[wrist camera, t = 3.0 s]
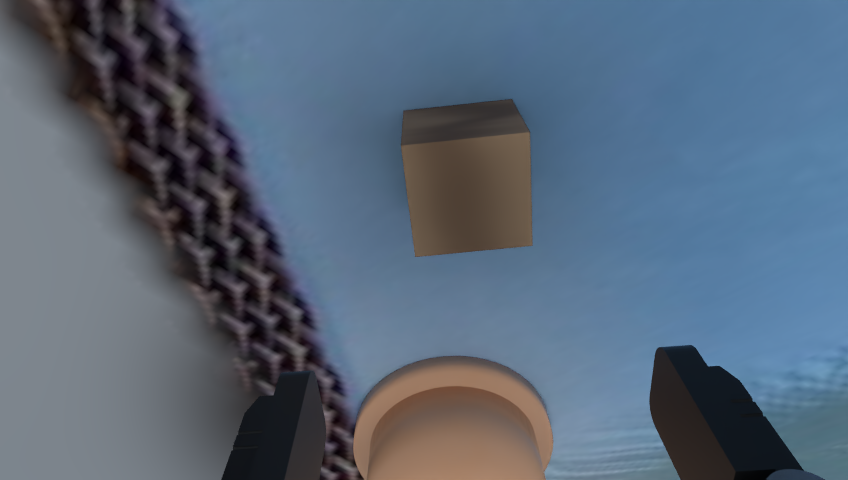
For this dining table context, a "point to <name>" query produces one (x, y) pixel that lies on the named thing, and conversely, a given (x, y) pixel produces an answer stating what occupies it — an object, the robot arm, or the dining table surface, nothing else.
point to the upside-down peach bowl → (453, 424)
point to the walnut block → (467, 177)
